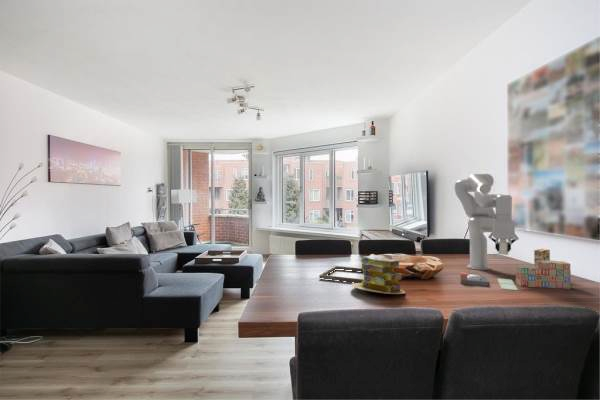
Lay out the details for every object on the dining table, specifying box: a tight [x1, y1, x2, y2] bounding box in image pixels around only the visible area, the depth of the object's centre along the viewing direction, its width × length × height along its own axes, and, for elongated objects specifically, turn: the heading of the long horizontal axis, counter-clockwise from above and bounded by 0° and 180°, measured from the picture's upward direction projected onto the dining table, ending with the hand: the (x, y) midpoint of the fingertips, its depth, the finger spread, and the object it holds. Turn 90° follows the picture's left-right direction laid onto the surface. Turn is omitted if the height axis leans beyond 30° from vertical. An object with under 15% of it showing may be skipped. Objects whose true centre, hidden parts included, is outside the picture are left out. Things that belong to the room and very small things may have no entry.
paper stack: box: [350, 253, 406, 295], centre depth 155 cm, size 25×25×17 cm
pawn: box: [497, 239, 509, 256], centre depth 179 cm, size 5×5×9 cm
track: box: [497, 278, 519, 292], centre depth 166 cm, size 21×6×1 cm, turn 154°
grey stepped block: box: [460, 271, 489, 287], centre depth 171 cm, size 12×12×6 cm
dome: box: [467, 274, 481, 280], centre depth 171 cm, size 6×6×3 cm
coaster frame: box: [318, 265, 364, 283], centre depth 185 cm, size 26×26×2 cm
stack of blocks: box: [515, 260, 572, 290], centre depth 164 cm, size 21×6×12 cm, turn 78°
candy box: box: [533, 248, 551, 266], centre depth 179 cm, size 9×4×15 cm, turn 121°
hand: (503, 250), depth 179 cm, fingers closed on pawn, 4 cm apart
